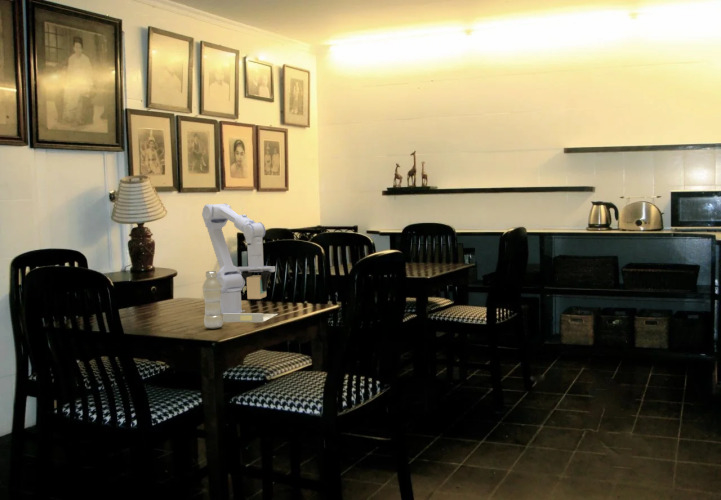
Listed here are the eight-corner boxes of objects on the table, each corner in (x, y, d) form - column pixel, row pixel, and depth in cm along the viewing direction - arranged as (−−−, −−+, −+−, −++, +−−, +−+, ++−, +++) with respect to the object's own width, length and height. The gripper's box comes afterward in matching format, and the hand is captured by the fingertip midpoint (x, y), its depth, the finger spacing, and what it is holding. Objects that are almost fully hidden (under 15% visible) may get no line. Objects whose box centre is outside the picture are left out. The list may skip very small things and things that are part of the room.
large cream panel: (222, 323, 265) (222, 313, 265) (241, 315, 283) (241, 306, 282) (262, 323, 262) (261, 313, 262) (278, 315, 280) (278, 306, 279)
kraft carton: (247, 298, 273) (246, 277, 272) (254, 296, 280) (253, 275, 279) (260, 298, 272) (259, 277, 271) (267, 296, 279) (266, 275, 278)
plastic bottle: (214, 326, 260) (212, 270, 259) (227, 327, 256) (224, 271, 255) (200, 329, 255) (197, 272, 254) (212, 330, 251) (209, 272, 250)
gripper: (233, 256, 272) (234, 292, 273) (270, 255, 269) (271, 292, 270) (240, 254, 279) (241, 290, 280) (276, 254, 276) (278, 289, 277)
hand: (257, 291), depth 276 cm, fingers closed on kraft carton, 5 cm apart
